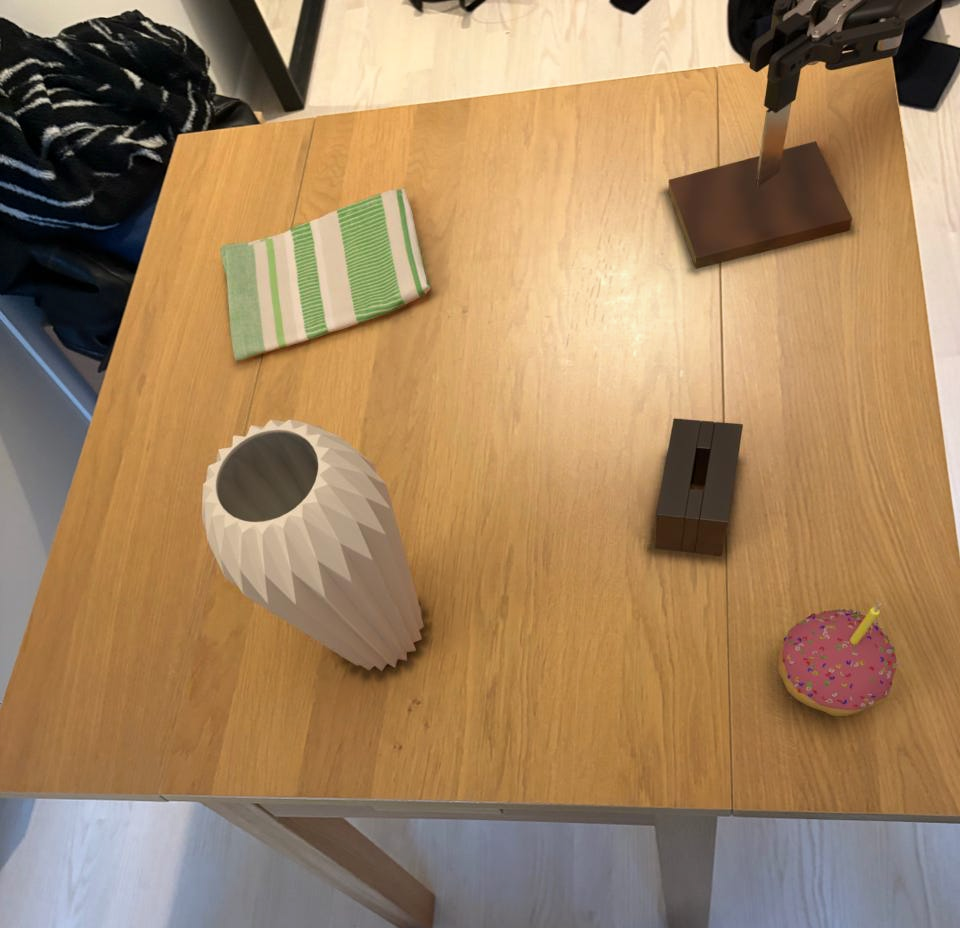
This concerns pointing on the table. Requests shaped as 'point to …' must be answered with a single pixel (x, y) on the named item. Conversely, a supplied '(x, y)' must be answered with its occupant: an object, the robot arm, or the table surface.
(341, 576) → the vase
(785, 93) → the knife
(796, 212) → the cutting board
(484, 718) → the table surface
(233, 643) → the table surface
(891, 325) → the table surface
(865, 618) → the cupcake
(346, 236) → the dish towel
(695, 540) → the knife block
